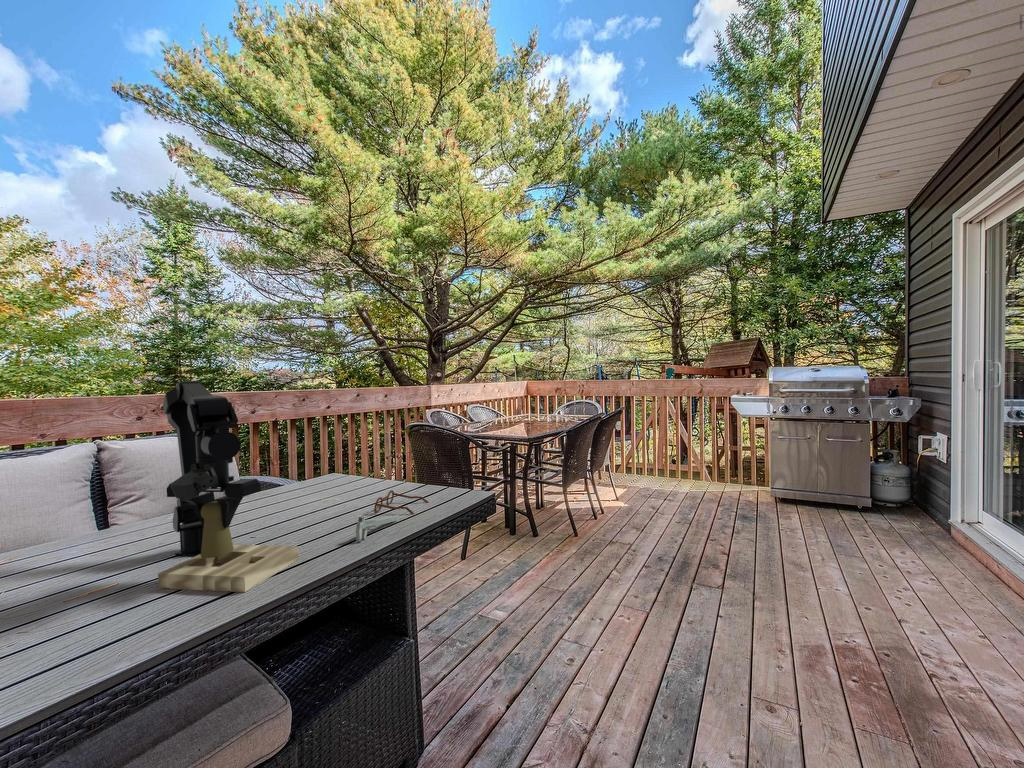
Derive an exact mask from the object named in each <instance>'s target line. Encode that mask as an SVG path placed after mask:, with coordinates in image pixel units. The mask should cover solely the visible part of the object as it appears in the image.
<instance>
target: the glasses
mask: <svg viewBox="0 0 1024 768" xmlns="http://www.w3.org/2000/svg"><path fill="white" fill-rule="evenodd" d="M390 495H391V499H390V501H389V497H390ZM394 496H395V497H396V496H397V497H402V498H407V499H410V500H411V499H420V500H421V501H423V502H425V503H430V502H429V500H427V499H425V498H424V497H422V496H419V495H417V496H416V495H415V496H411V495H406V494H401V493H397V492H395V491H394V490H393V489H392V490H389V491H388V493H387V496H384V497H380V496H379V497H378V498H377V499H376V500H375V502H374V503H375V504H374V510H373V511H374V513H376V514H377V513H379V512H381V510H382V508H387V509H391V510H395V511H396V510H401V509H402V510H405V511H407V512H408V513H409V514H411V515H416V514H415V512H414V511H413V510H412V509H410V508H409V507H408V506H396V507H395V506H392V505H391V504H392V503H393V501H394ZM385 500H386V504H383V502H384V501H385ZM379 501H380V503H378V502H379ZM389 504H390V505H389ZM377 507H379V508H378V510H377Z"/></svg>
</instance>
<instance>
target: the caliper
mask: <svg viewBox="0 0 1024 768" xmlns="http://www.w3.org/2000/svg"><path fill="white" fill-rule="evenodd" d="M402 518H403V516H401V514H400V515H399V514H395V515H391V516H387V517H382V518H370V519H366V516H361V517H359V516H358V521H357V522H356V526H355V527H356V528H355V539H356V540H355V541H356V543H362V541H366V540H367V535H368V531H372V530H376V527H377V526H381V525H386V524H389V523H394V522H398V521H400V520H401V519H402ZM399 519H400V520H399ZM397 520H398V521H397ZM365 539H366V540H365Z"/></svg>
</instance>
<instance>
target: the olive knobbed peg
mask: <svg viewBox="0 0 1024 768" xmlns="http://www.w3.org/2000/svg"><path fill="white" fill-rule="evenodd" d="M201 516H202V518H203V519H204V528H203V538H202V548H201V557H202V558H213V557H219V556H222V555H225V554H228V553H230V552H232V551H233V550H234V548H233V545H234V544H233V539H232V535H231V531H230V530H231V529H230V526H229V527H227V528H224V527H223V522H222V511H221V505H220V504H219V503H218V502H217V501H213V502H210V503H207V504H205V505H203V507H202V508H201Z"/></svg>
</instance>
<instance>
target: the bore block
mask: <svg viewBox="0 0 1024 768" xmlns="http://www.w3.org/2000/svg"><path fill="white" fill-rule="evenodd" d="M233 548H234V550H233V551H232V552H230V553H228V554H225V555H222V556H219V557H213V558H202V557H201V554H200V555H198V556H193V557H191V558H189V559H187V560H185V561H183V562H179V563H178V564H175V565H174V566H171V567H169V568H167V569H165V570H163V571H161V572H159V573H157V580H158V582H157V583H158V589H163V588H170V589H169V590H185V591H187V590H188V591H206V590H207V591H208V590H209V591H210V592H227V591H231V593H232V592H233V593H247V592H248V591H250V590H251V589H253V588H255V587H256V586H258V585H260V584H261V583H263V582H264V581H266V580H268V579H269V578H271V577H273V576H274V575H276V574H277V573H279V572H280V571H282V570H284V569H285V568H287V567H288V565H289V566H290V565H292V564H294V563H295V562H296V560H297V561H298V560H299V551H298V549H299V546H296V545H295V546H292V545H291V546H290V545H258V544H256V545H253V544H252V545H251V544H233ZM291 563H292V564H291ZM211 590H212V591H211Z"/></svg>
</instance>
